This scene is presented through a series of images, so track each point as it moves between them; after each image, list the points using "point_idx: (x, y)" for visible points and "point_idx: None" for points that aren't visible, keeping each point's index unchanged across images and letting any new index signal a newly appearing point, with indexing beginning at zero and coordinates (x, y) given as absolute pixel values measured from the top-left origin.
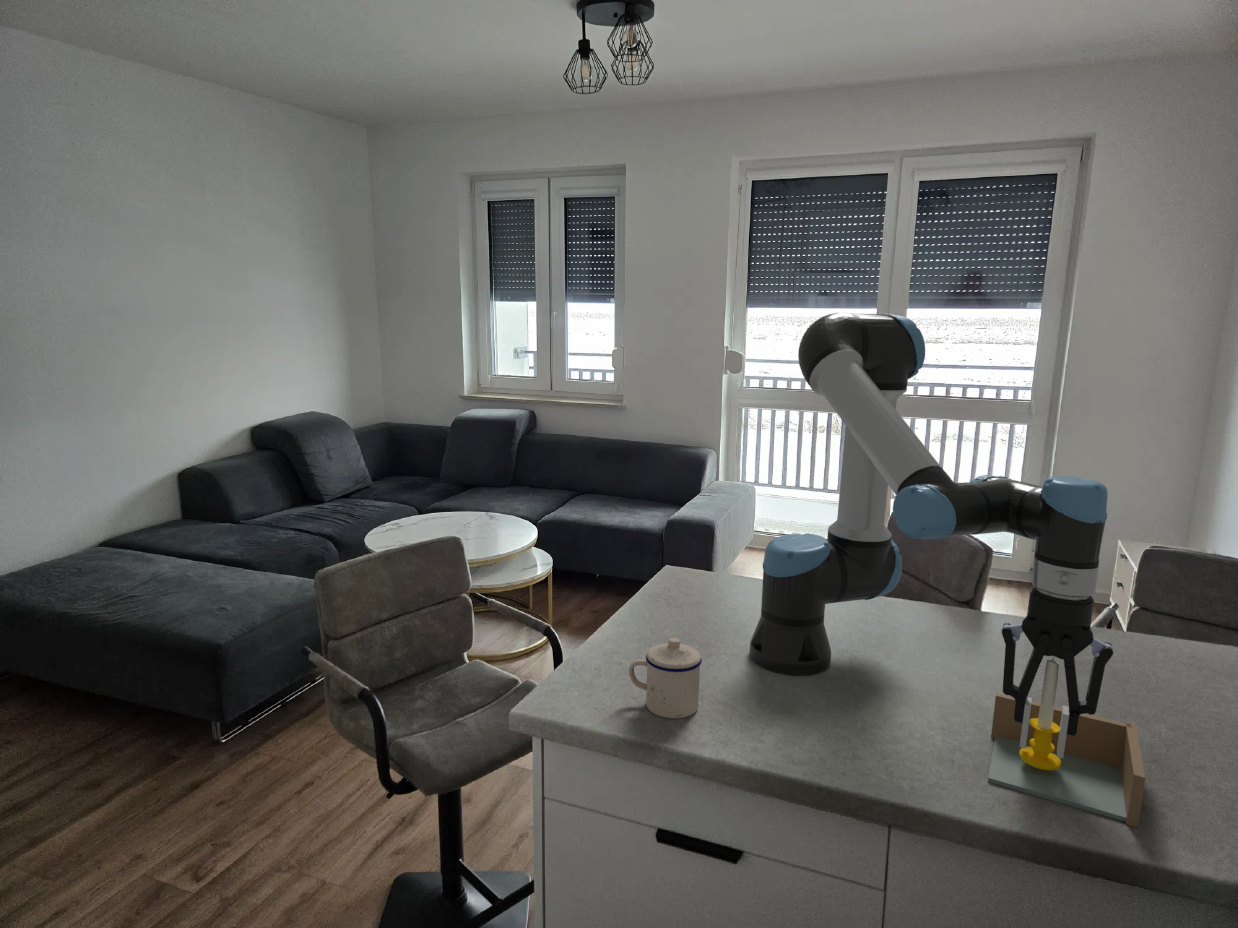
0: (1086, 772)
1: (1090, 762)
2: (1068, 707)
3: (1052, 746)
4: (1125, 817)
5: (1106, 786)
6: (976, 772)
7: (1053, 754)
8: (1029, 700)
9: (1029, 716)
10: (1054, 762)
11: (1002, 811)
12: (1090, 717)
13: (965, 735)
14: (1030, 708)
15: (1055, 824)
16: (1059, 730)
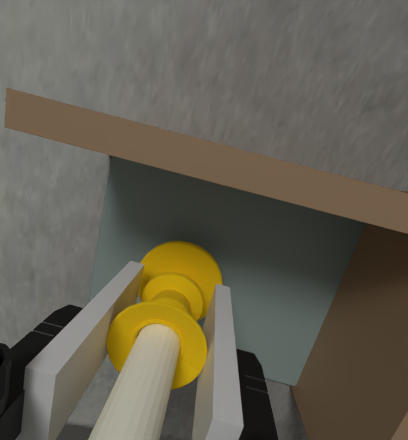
0: (279, 260)
1: (305, 214)
2: (237, 432)
3: (195, 313)
4: (293, 385)
5: (301, 300)
6: (72, 300)
7: (211, 269)
8: (42, 402)
9: (81, 395)
10: (204, 304)
11: (105, 394)
12: (371, 214)
13: (54, 157)
14: (55, 437)
15: (177, 406)
16: (199, 371)
